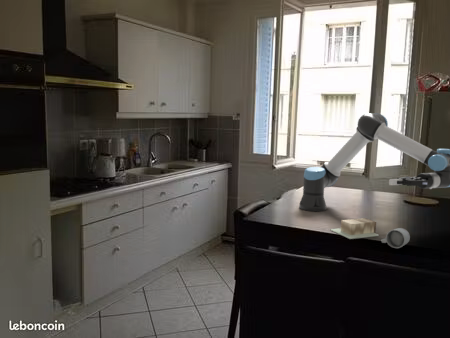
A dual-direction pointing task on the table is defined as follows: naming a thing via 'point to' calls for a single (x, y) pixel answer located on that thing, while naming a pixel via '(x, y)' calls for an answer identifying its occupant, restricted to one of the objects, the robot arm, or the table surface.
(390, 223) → the table surface
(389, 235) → the ceramic mug
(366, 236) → the sage mat
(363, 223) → the birch block
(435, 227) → the table surface
